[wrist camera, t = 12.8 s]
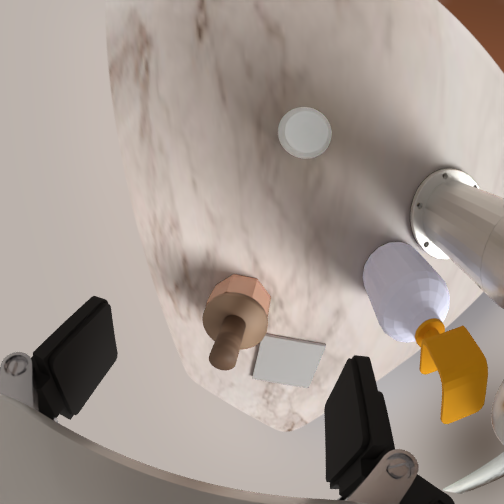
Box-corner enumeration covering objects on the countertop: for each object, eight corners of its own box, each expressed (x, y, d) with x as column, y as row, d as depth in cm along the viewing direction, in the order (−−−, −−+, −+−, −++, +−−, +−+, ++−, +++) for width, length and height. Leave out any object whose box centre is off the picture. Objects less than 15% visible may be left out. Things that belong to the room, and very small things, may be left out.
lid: (273, 299, 36) (267, 340, 28) (261, 350, 39) (254, 392, 32) (207, 286, 36) (186, 321, 29) (202, 337, 40) (185, 376, 32)
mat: (325, 344, 43) (325, 346, 43) (308, 385, 47) (308, 388, 46) (262, 332, 44) (262, 335, 43) (252, 376, 48) (252, 378, 47)
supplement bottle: (271, 138, 34) (263, 137, 25) (297, 104, 32) (298, 91, 23) (307, 164, 34) (312, 172, 25) (333, 131, 32) (347, 127, 23)
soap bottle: (366, 305, 40) (409, 452, 17) (357, 248, 37) (420, 389, 14) (421, 291, 38) (496, 417, 15) (417, 233, 35) (525, 344, 12)
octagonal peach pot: (274, 282, 40) (271, 300, 36) (264, 328, 44) (260, 349, 39) (217, 270, 41) (207, 287, 36) (212, 316, 44) (203, 336, 39)
